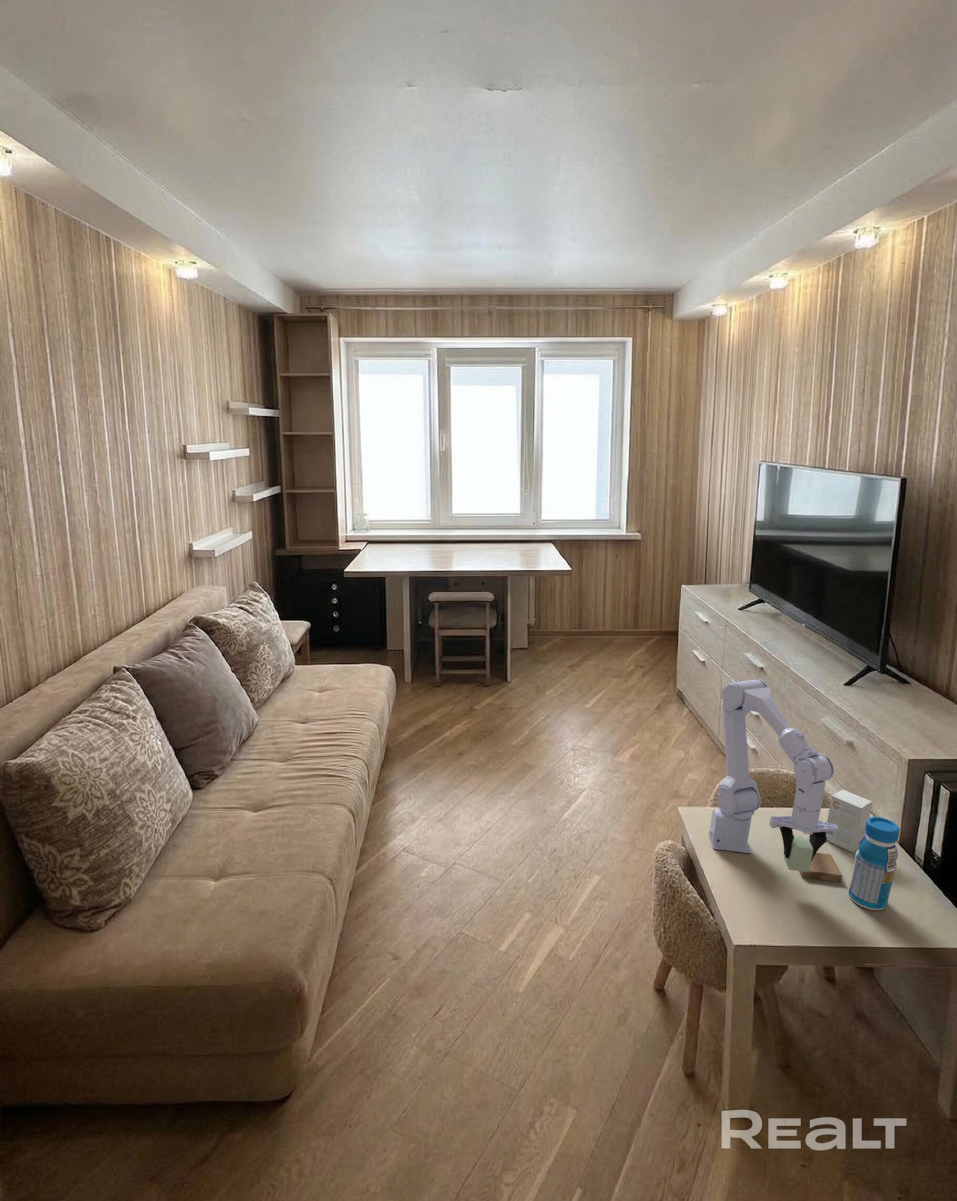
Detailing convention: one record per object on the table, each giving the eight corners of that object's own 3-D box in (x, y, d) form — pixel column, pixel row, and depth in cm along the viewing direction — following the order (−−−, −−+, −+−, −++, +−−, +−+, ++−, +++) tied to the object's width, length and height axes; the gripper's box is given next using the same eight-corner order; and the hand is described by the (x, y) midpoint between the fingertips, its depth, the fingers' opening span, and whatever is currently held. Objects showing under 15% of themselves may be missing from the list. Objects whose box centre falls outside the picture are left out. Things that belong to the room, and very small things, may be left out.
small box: (864, 845, 200) (873, 801, 197) (853, 853, 196) (862, 808, 193) (834, 832, 206) (842, 788, 203) (822, 839, 202) (831, 795, 199)
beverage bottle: (852, 908, 174) (868, 830, 169) (843, 886, 182) (858, 811, 177) (892, 915, 172) (909, 836, 167) (881, 893, 180) (898, 817, 175)
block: (788, 869, 177) (792, 846, 175) (784, 858, 181) (788, 836, 179) (808, 872, 176) (813, 849, 174) (803, 861, 180) (808, 838, 179)
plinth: (801, 877, 185) (803, 870, 184) (792, 856, 193) (793, 849, 193) (840, 882, 184) (841, 875, 183) (829, 861, 192) (830, 854, 192)
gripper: (778, 810, 172) (769, 862, 175) (845, 818, 170) (835, 871, 173) (771, 794, 178) (762, 846, 182) (836, 802, 177) (826, 854, 180)
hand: (797, 857), depth 178 cm, fingers closed on block, 4 cm apart
